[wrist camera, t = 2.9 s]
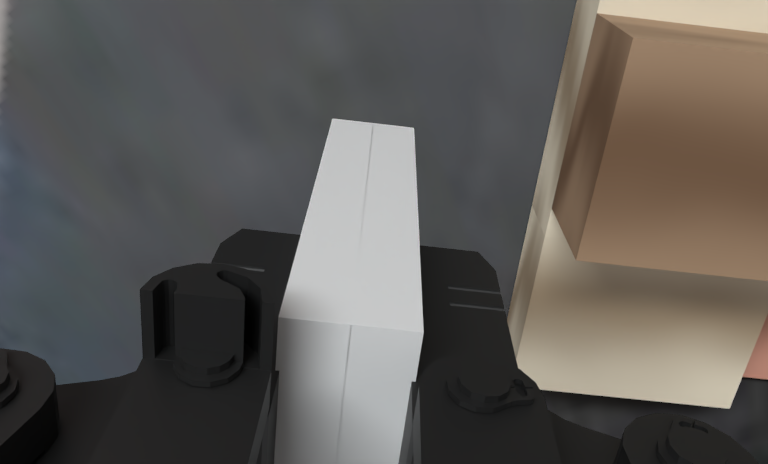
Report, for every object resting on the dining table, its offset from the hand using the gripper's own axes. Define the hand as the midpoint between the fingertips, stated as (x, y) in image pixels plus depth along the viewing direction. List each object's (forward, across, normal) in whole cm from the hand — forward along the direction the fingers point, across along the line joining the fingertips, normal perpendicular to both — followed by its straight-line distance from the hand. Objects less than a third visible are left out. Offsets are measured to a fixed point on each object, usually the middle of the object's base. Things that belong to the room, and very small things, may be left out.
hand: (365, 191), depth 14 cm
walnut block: (+8, -10, 0) cm, 13 cm away
